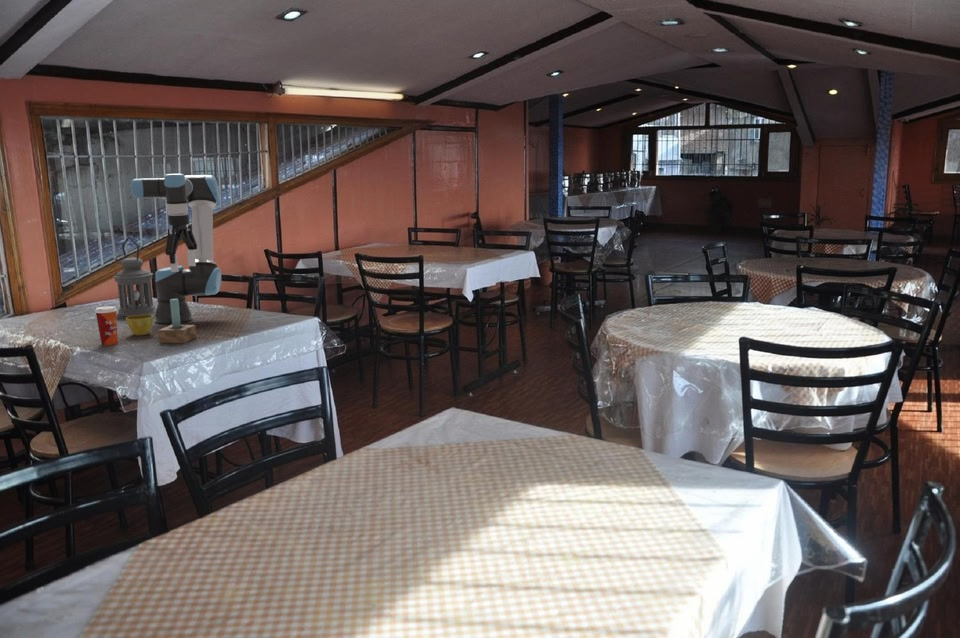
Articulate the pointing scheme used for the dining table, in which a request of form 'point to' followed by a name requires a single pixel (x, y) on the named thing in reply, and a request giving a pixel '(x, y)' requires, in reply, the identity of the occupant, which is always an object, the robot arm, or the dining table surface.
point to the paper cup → (107, 324)
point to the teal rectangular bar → (175, 313)
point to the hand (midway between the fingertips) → (183, 268)
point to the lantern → (128, 279)
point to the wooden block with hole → (177, 334)
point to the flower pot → (140, 324)
